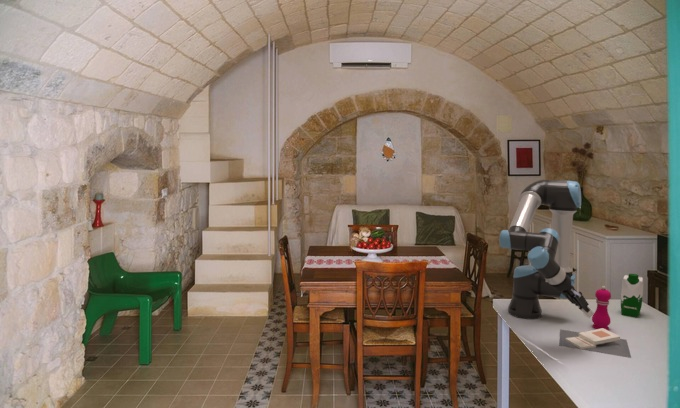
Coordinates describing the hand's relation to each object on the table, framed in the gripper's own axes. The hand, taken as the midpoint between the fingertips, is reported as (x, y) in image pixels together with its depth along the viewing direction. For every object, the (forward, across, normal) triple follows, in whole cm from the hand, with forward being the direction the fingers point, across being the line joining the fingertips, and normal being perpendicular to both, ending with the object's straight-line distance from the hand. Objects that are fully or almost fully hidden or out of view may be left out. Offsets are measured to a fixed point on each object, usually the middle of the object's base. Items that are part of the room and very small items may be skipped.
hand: (590, 315), depth 195 cm
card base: (+5, 0, -11) cm, 12 cm away
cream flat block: (+7, 0, -8) cm, 11 cm away
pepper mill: (+21, -12, +3) cm, 25 cm away
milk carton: (+43, -25, +23) cm, 55 cm away
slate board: (+10, +1, -8) cm, 13 cm away
